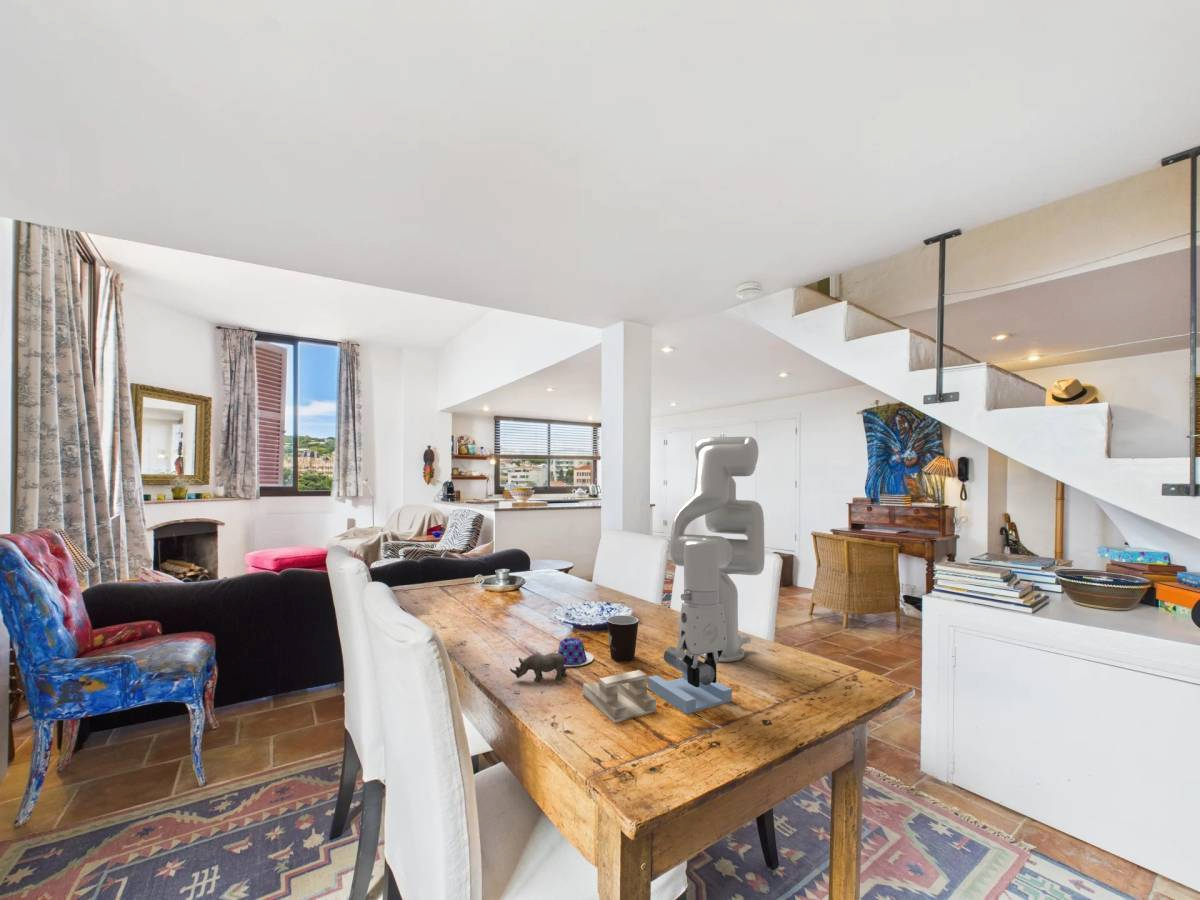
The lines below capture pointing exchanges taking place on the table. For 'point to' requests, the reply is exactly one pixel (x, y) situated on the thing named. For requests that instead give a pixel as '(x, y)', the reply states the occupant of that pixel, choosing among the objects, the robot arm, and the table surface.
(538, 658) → the rhino figurine
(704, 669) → the axle
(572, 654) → the pudding
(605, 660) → the table surface
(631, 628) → the coffee mug
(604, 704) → the bracket
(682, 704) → the cradle
